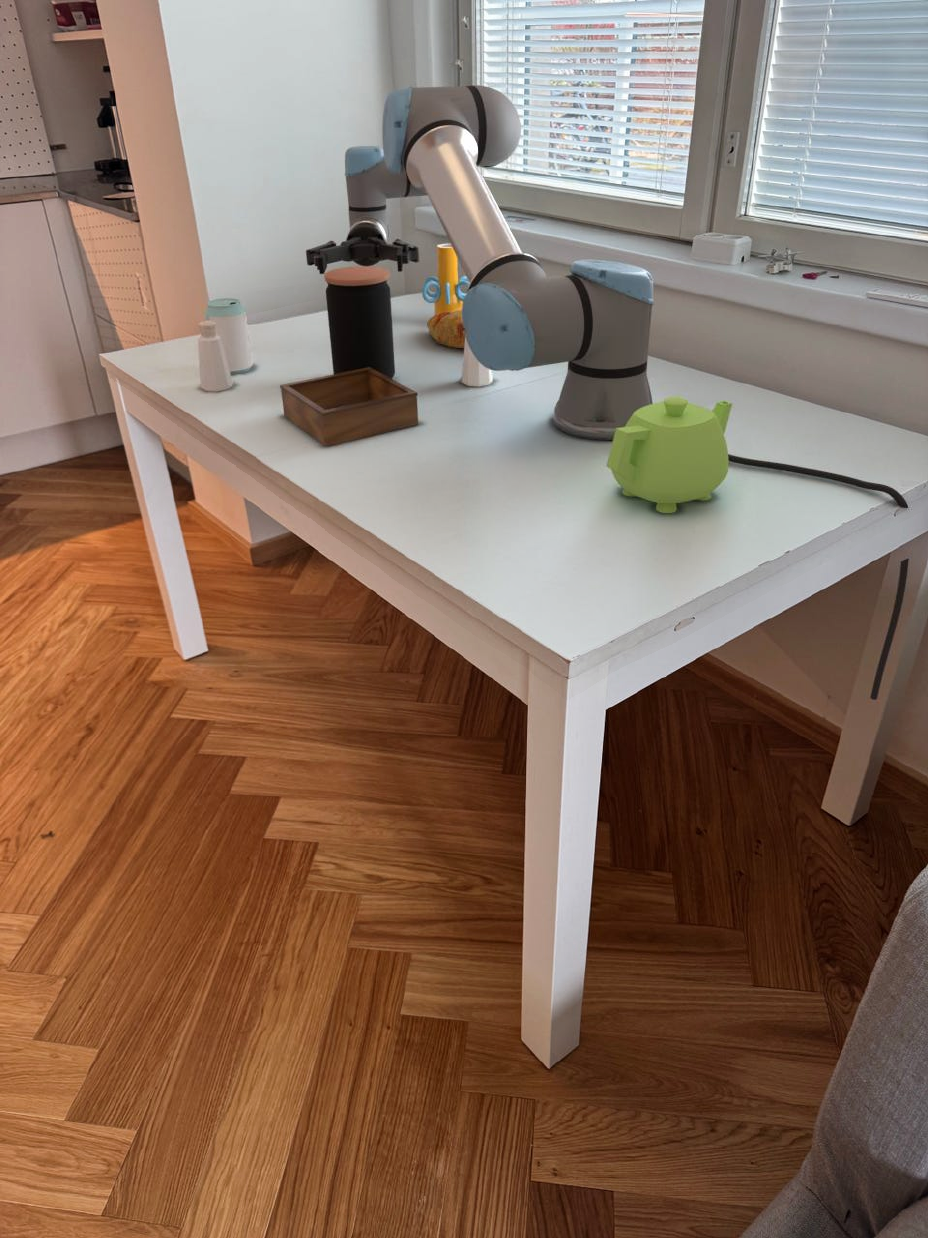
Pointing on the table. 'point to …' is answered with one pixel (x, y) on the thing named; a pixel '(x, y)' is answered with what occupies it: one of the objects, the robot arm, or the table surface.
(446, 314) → the croissant
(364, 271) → the coffee jar
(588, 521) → the table surface
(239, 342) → the can
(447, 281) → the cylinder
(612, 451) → the teapot
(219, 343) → the salt shaker
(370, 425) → the wooden tray
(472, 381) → the pepper shaker
